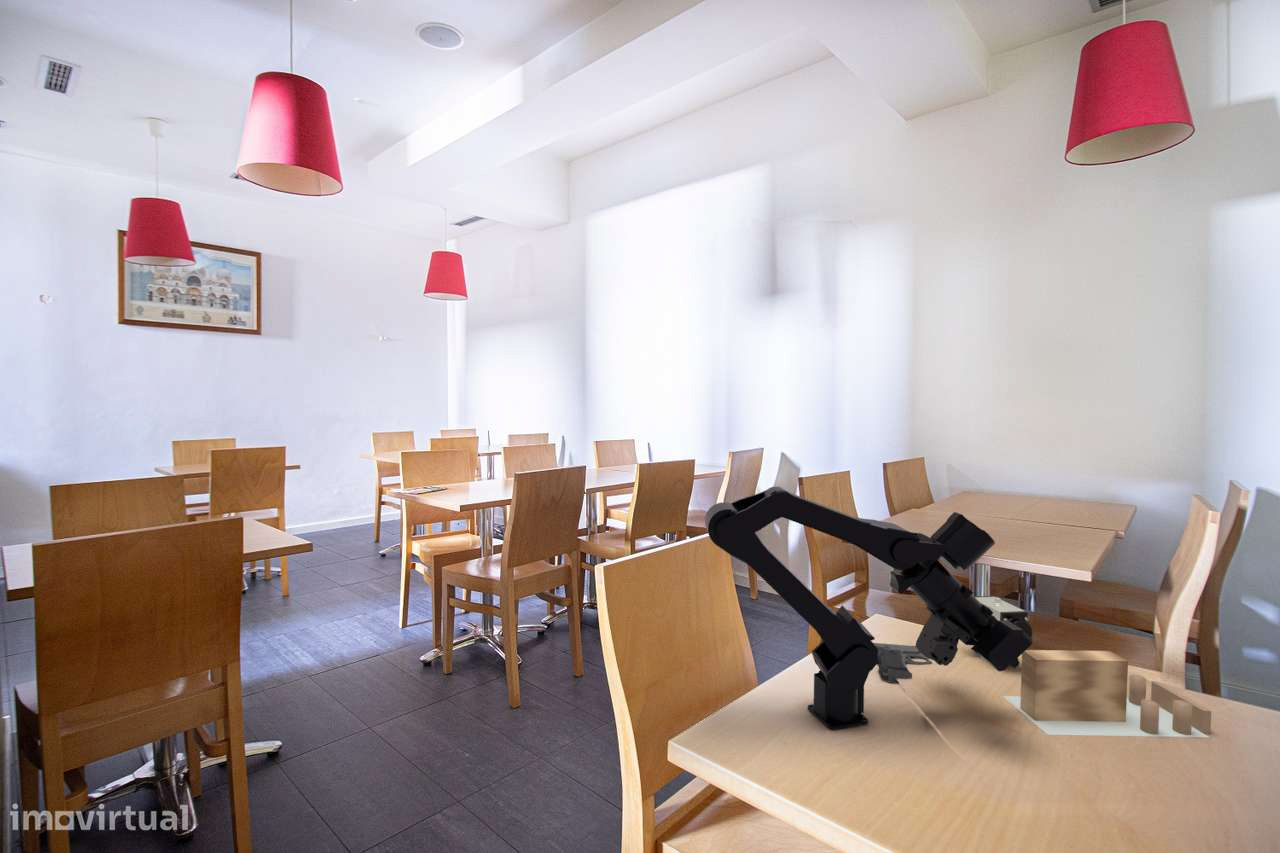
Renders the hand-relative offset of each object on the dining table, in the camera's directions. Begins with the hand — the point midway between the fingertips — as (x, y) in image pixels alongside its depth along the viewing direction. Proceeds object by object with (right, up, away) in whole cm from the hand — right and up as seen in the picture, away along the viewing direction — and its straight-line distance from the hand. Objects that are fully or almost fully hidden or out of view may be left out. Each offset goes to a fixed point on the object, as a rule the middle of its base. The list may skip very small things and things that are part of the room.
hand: (1015, 665), depth 90 cm
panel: (+12, -8, 0) cm, 15 cm away
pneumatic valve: (+8, -8, +19) cm, 22 cm away
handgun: (-7, -8, +18) cm, 21 cm away
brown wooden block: (+8, -7, 0) cm, 11 cm away
